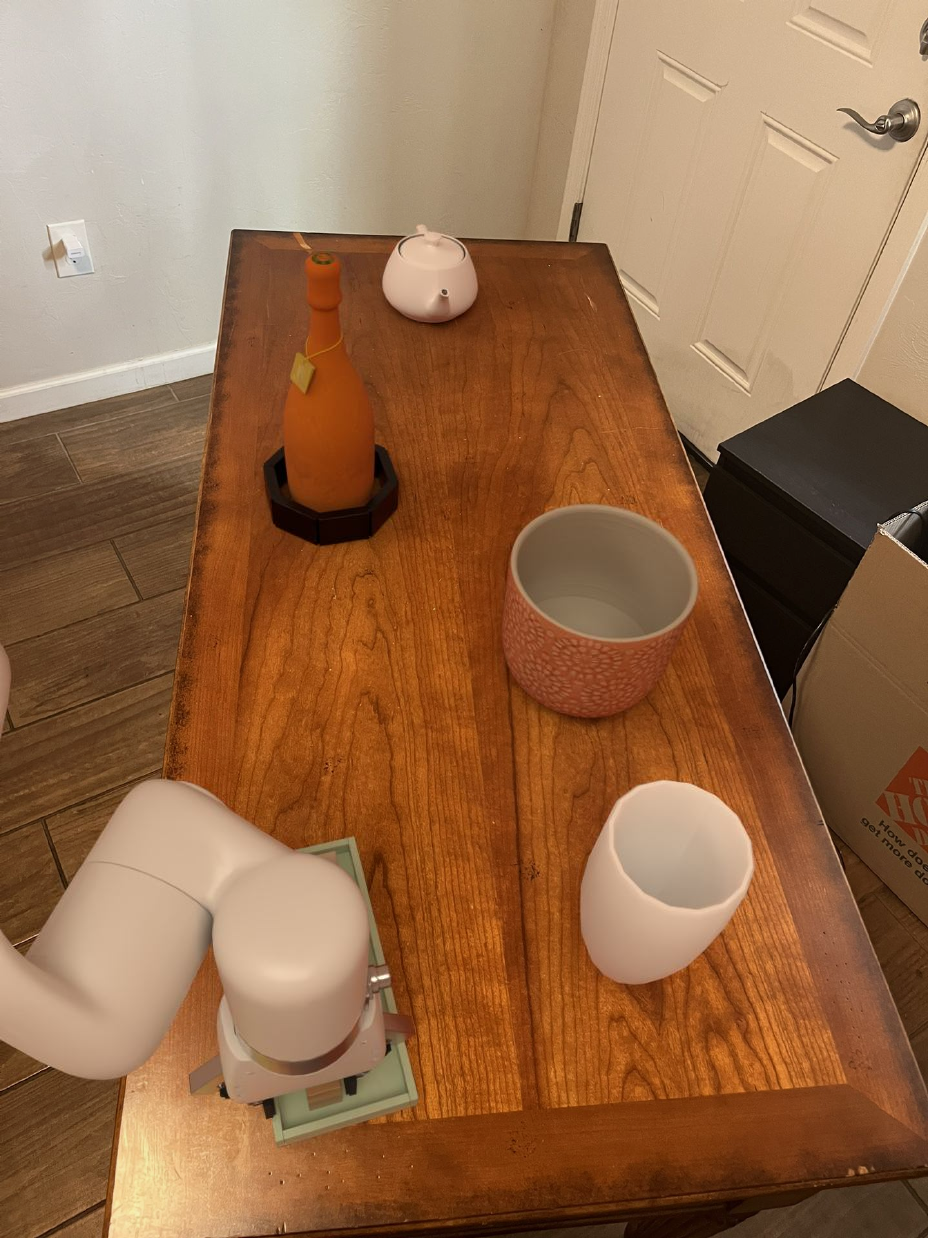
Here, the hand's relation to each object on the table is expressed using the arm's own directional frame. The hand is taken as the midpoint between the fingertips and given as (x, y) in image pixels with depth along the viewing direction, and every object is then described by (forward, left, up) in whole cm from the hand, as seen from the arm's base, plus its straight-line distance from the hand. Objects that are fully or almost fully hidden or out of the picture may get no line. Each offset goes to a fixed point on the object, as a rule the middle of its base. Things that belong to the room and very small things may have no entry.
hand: (308, 1083), depth 67 cm
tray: (+2, +8, -2) cm, 8 cm away
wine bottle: (+14, +62, -2) cm, 63 cm away
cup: (+25, +3, -2) cm, 26 cm away
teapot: (+36, +99, -2) cm, 105 cm away
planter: (+33, +32, -2) cm, 46 cm away
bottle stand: (+14, +62, -2) cm, 63 cm away
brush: (+2, +8, -2) cm, 8 cm away
